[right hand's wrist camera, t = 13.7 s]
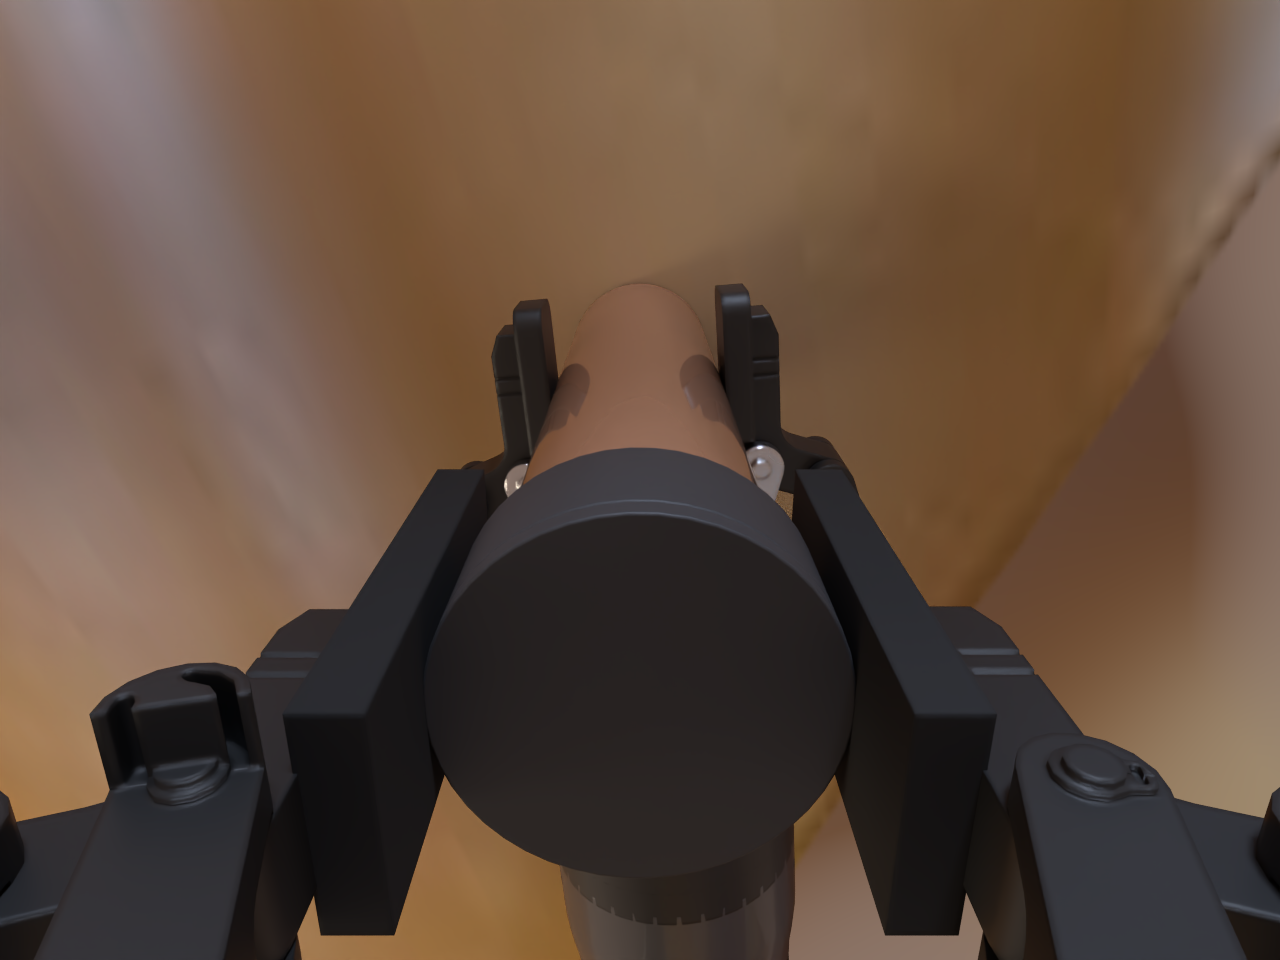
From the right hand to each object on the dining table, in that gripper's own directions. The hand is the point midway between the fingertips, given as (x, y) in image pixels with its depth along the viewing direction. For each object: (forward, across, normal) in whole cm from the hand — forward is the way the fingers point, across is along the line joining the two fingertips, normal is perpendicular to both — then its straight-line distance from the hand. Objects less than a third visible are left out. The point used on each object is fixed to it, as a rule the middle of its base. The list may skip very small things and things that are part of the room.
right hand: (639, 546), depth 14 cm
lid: (-4, 0, 0) cm, 4 cm away
